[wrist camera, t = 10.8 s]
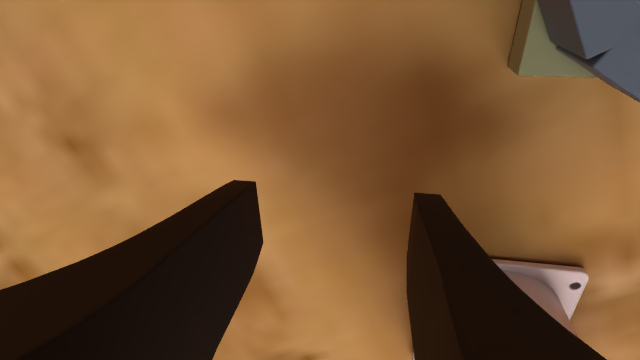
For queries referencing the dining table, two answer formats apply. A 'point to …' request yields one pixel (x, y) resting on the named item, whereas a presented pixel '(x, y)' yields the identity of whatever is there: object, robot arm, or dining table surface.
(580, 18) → the ring
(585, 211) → the dining table surface
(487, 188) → the dining table surface
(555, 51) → the post
